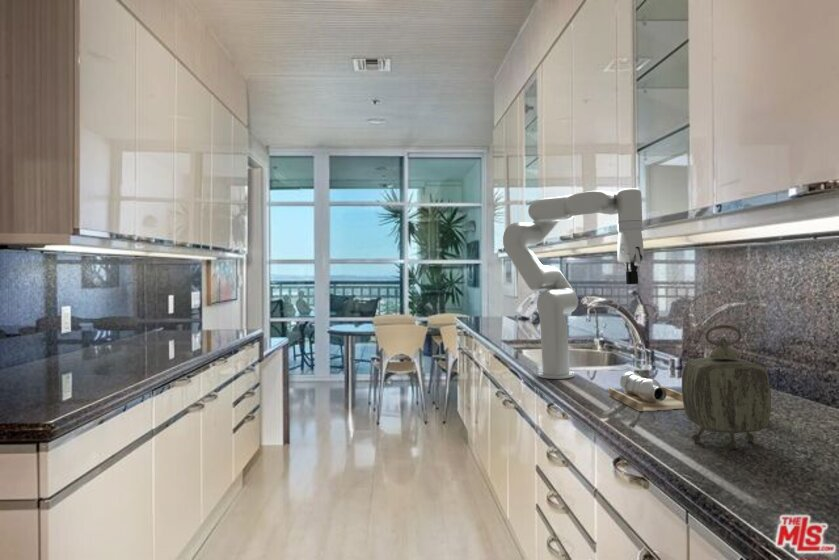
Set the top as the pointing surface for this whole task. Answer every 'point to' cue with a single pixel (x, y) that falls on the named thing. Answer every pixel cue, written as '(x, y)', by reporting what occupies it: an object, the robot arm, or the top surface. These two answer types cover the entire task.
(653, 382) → the plastic bottle
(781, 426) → the top surface
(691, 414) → the tabletop clock
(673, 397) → the wooden tray
